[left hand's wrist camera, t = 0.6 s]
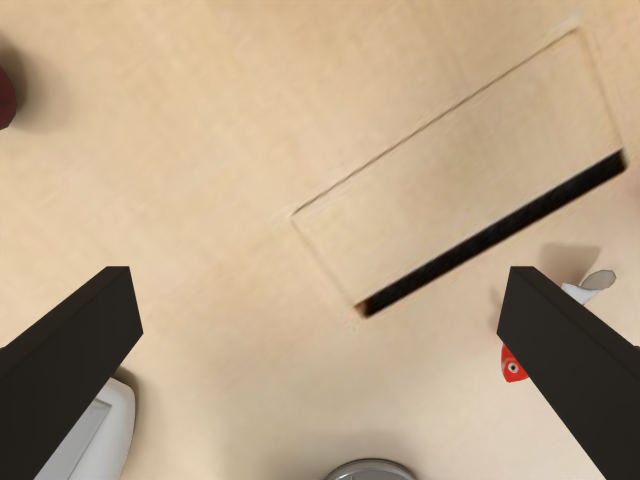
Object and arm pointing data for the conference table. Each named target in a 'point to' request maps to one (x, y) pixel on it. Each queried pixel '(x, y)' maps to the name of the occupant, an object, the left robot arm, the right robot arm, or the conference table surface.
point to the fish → (580, 294)
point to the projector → (96, 439)
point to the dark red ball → (6, 101)
